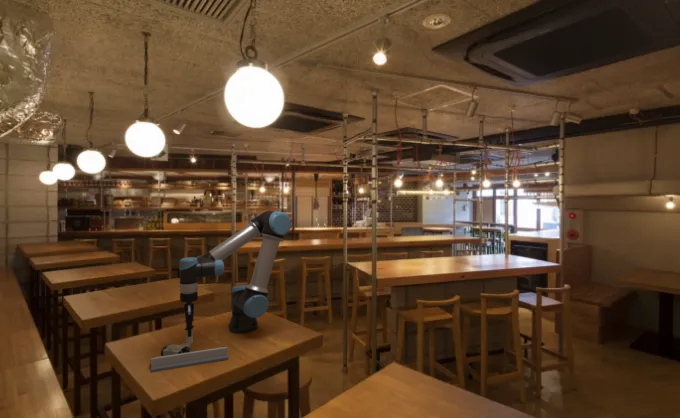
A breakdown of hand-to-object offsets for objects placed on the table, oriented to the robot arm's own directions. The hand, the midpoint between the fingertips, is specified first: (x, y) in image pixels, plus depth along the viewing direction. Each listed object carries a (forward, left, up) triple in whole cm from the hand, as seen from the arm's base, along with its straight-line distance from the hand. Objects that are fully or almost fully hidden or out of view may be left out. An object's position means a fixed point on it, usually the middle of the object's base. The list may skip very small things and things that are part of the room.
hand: (189, 342), depth 175 cm
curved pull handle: (0, +13, -4) cm, 14 cm away
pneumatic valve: (+1, +1, -1) cm, 2 cm away
